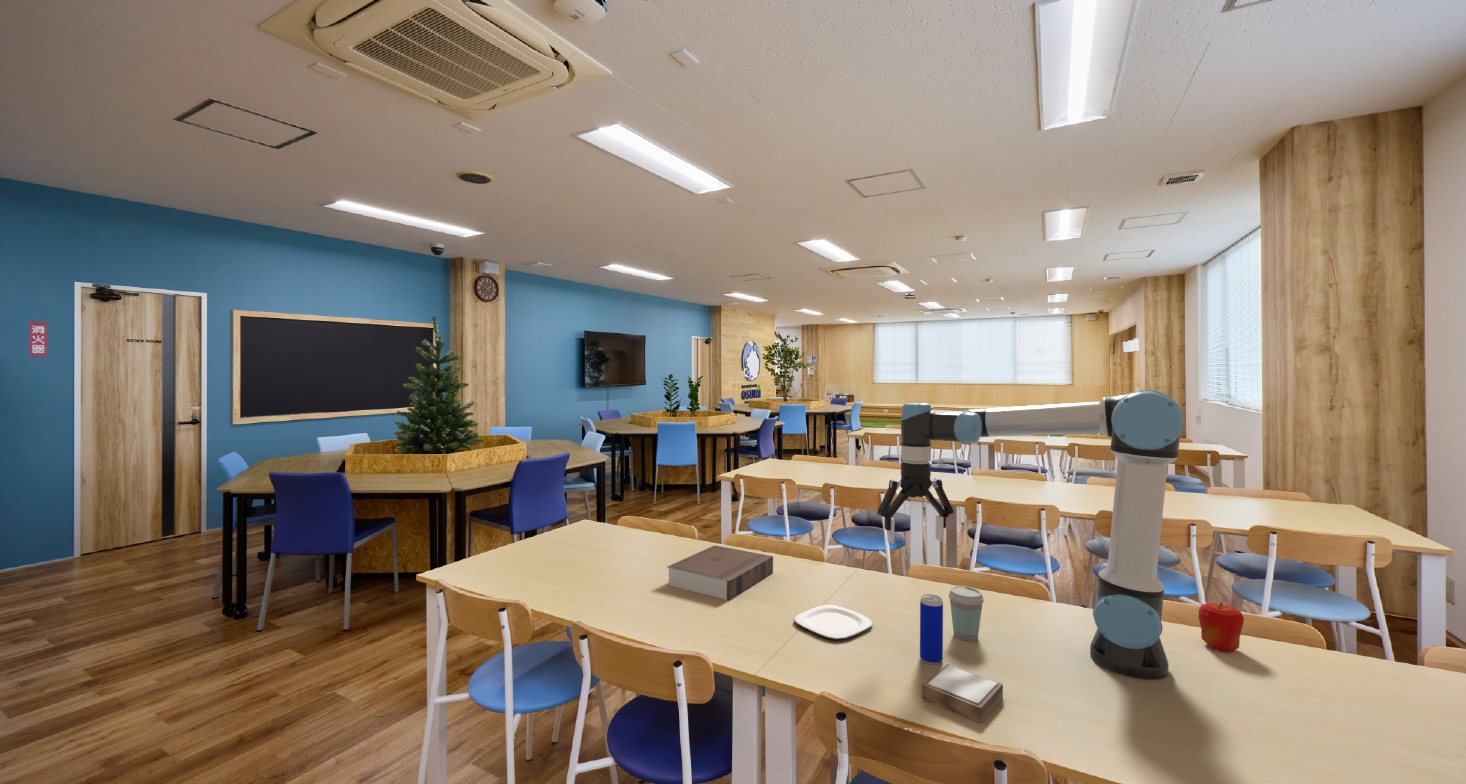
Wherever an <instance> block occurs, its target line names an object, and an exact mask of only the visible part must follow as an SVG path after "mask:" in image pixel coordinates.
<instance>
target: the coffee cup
mask: <svg viewBox="0 0 1466 784" xmlns="http://www.w3.org/2000/svg"><path fill="white" fill-rule="evenodd" d="M948 598H949V604H950V613H951V621H952V631H953V636H954V637H955V638H956V639H957V640H960V641H963V642H969V643H971V642H976V641H978V639H979V632H980V625H981V618H982V609H983V603H984V602H985V600H984V596H983V594H982V591H980V589H977V588H975V587H971V586H966V585H965V586H964V585H956V586H952V587H951V588H950V591H949V592H948Z"/></svg>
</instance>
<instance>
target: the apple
mask: <svg viewBox="0 0 1466 784" xmlns="http://www.w3.org/2000/svg"><path fill="white" fill-rule="evenodd" d="M1198 621H1199V624H1200V630H1201V631H1200V632H1201V640H1202V641H1203V642H1205V643H1206V644H1207V646H1208V647H1209V648H1211V649H1213V650H1216V651H1218V652H1222V653H1233V652H1234V651H1236V650H1238V649H1239V648H1240V641H1241V634H1242V630H1243V626H1244V622H1245V618H1244V616H1243V613H1242V612H1241V611H1240V610H1239V609H1238V608H1235V607H1233V606H1231V605H1226V604H1223V601H1221V602H1220V603H1214V602H1210V603H1203V604H1201V605H1200V607H1199V608H1198Z"/></svg>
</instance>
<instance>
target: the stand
mask: <svg viewBox="0 0 1466 784" xmlns="http://www.w3.org/2000/svg"><path fill="white" fill-rule="evenodd" d="M1003 690H1004V684H1003V683H1000V682H998V681H995V680H992V679H989V678H987V677H984V676H981V675H978V674H975V673H973V672H971V671H968V670H965V669H961V668H959V667H957V666H954V665H950V664H945V665H943V667H942V668H940V670H938V671H937V672H935V673H934V674H933V675H932V676H931V677H930V678H929V679H928V680H927V681H925V682H924V683H923V684H922V697H921V698H922V700H924V701H926V702H928V703H931V704H933V705H936V706H939V707H941V708H943V709H945V710H948V711H950V712H953V713H956V714H957V715H960V716H962V717H965V718H967V719H969V720H972V721H974V722H977V723H979V724H982V723H983V722H984V721H985V720H986V718H987V717H988V716H989V715H990V714H991V712H992V711H993V710H994V709H995V708H996V706H998V704H1000V702H1001V701H1002V700H1003V697H1004V693H1003V692H1004V691H1003Z"/></svg>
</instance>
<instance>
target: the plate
mask: <svg viewBox="0 0 1466 784" xmlns="http://www.w3.org/2000/svg"><path fill="white" fill-rule="evenodd" d="M793 619H794V620H793V621H794V622H795V623H796V624H797V625H798V626H800V627H801V628H804V629H806V630H807V631H809V632H812V633H814V634H816V635H818V636H821V637H824V638H827V639H830V640H837V641H838V640H845V639H848V638H851V637H854V636H857V635H859V634H860V633H863V632H865V631H867V630H868V629H870V628H871V627H872V626H873V624H874V622H873V620H871V619H870V618H869V617H867V616H866V615H863V614H861V613H858V612H856V611H854V610H851V609H848V608H845V607H842V606H840V605H834V604H824V605H819V606H816V607H812V608H810V609H807V610H805V611H803V612H800V613H799V614H797V615H795V617H794V618H793Z"/></svg>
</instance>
